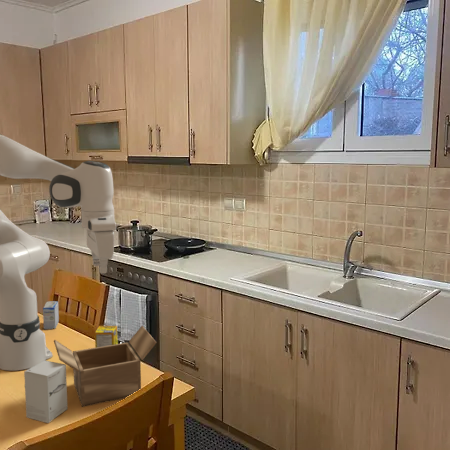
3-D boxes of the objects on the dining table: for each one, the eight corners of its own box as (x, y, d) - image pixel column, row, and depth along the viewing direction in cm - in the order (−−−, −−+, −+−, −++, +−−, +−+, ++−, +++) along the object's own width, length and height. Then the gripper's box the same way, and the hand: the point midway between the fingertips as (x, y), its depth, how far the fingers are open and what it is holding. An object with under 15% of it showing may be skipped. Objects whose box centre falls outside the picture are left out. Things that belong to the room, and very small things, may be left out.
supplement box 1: (48, 424, 120) (46, 376, 118) (25, 417, 122) (22, 370, 120) (68, 409, 126) (66, 363, 124) (46, 403, 129) (44, 359, 127)
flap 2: (141, 325, 146) (143, 326, 146) (128, 341, 145) (130, 342, 145) (155, 341, 134) (156, 342, 134) (141, 359, 133) (142, 360, 133)
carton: (74, 383, 140) (72, 351, 139) (128, 373, 147) (127, 342, 145) (81, 407, 128) (80, 371, 126) (141, 394, 134) (140, 360, 133)
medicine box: (47, 322, 189) (46, 301, 188) (59, 321, 190) (58, 300, 189) (43, 329, 182) (42, 307, 180) (55, 329, 183) (54, 307, 181)
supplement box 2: (118, 357, 158) (117, 325, 157) (114, 365, 153) (113, 332, 151) (100, 357, 158) (99, 325, 157) (95, 365, 152) (94, 332, 151)
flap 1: (71, 350, 138) (70, 352, 138) (54, 339, 136) (53, 341, 136) (79, 370, 126) (77, 371, 126) (60, 358, 124) (59, 359, 123)
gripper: (80, 216, 142) (82, 262, 144) (93, 226, 123) (94, 278, 125) (102, 215, 144) (103, 260, 146) (117, 224, 126) (119, 276, 128)
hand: (99, 269), depth 136 cm, fingers open, 8 cm apart
